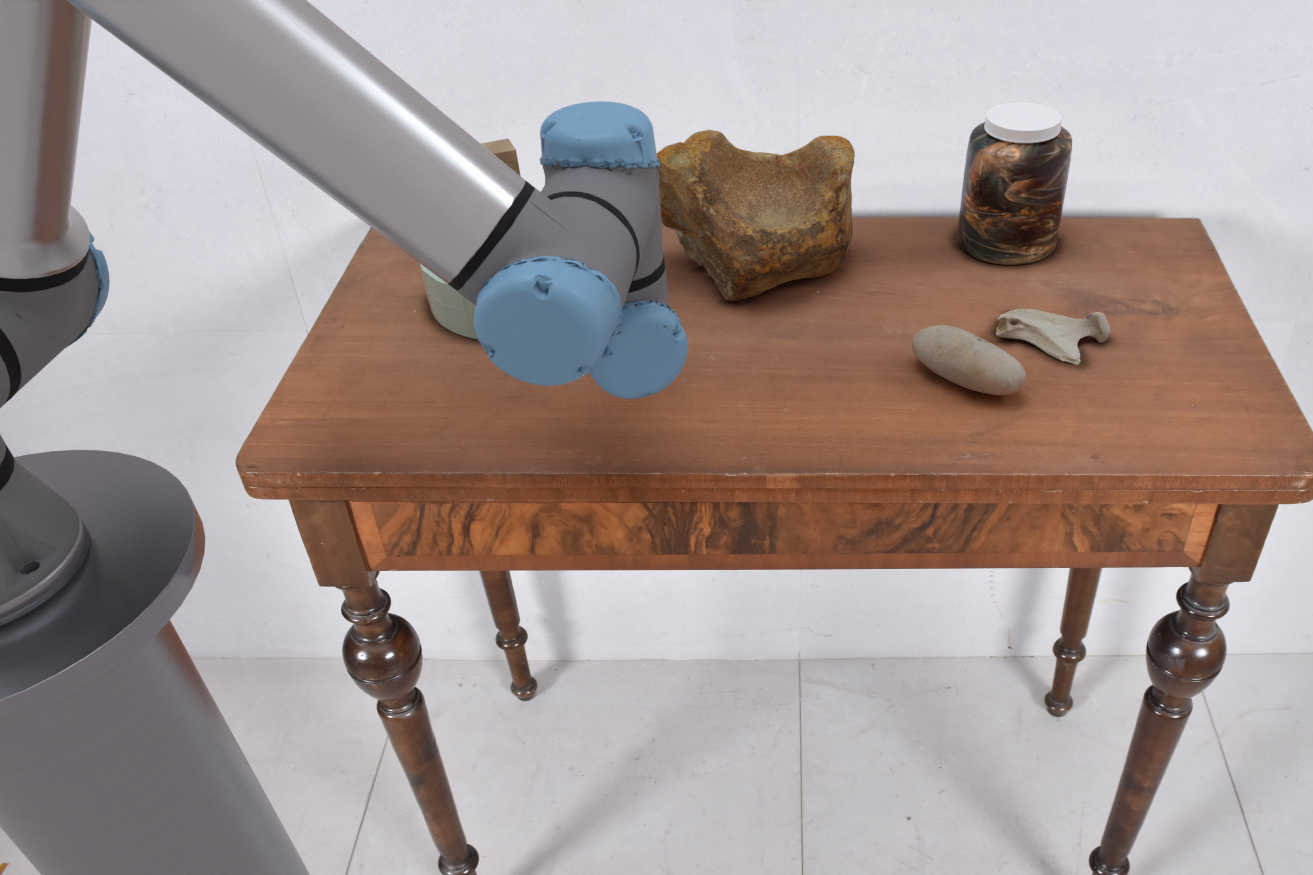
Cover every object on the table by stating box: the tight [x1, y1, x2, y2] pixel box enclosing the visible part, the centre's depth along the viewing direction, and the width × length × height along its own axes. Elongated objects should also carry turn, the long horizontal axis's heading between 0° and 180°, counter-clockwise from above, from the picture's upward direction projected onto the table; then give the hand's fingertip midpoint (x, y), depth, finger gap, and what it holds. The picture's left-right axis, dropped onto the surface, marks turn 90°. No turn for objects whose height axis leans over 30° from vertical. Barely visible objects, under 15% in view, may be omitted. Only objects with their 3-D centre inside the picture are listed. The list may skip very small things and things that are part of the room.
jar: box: [956, 101, 1073, 266], centre depth 122 cm, size 12×12×15 cm
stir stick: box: [480, 138, 522, 177], centre depth 114 cm, size 3×3×16 cm
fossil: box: [995, 307, 1111, 366], centre depth 109 cm, size 7×11×3 cm, turn 60°
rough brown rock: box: [657, 129, 856, 302], centre depth 117 cm, size 23×17×15 cm
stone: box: [911, 324, 1027, 396], centre depth 103 cm, size 6×6×12 cm
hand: (516, 167), depth 101 cm, fingers open, 13 cm apart
